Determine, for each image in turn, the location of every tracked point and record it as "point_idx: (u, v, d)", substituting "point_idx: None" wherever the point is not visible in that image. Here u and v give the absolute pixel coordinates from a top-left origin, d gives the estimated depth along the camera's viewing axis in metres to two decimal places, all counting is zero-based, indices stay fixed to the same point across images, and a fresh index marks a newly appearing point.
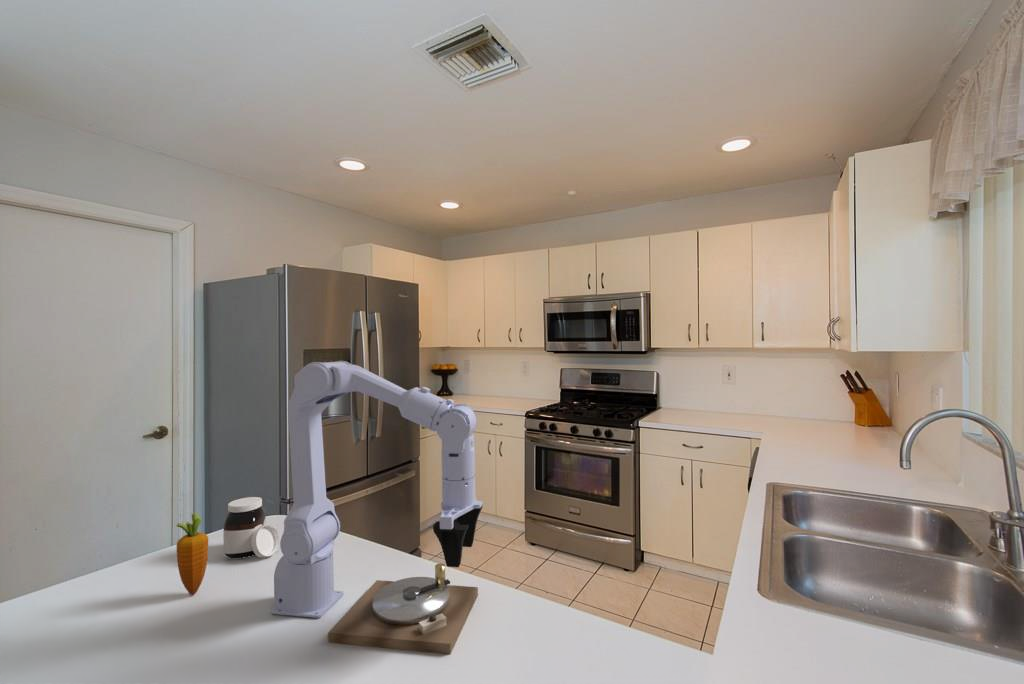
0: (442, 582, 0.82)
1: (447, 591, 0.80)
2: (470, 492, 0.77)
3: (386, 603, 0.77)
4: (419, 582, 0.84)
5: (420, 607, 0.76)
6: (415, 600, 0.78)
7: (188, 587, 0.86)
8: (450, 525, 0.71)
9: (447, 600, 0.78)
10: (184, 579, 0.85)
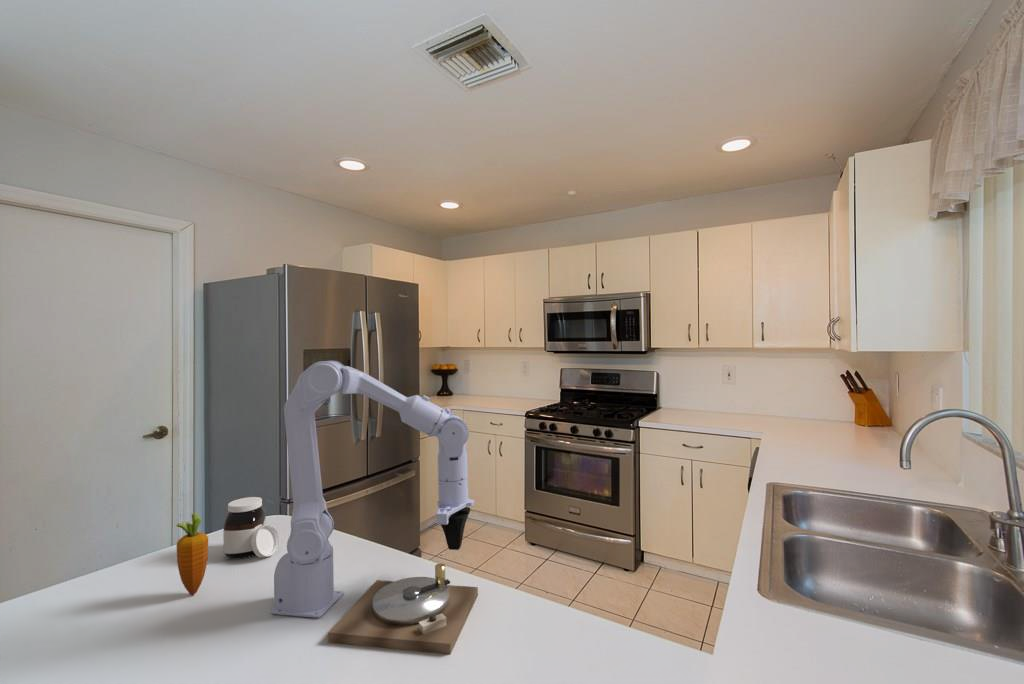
0: (442, 582, 0.82)
1: (447, 591, 0.80)
2: (463, 491, 0.87)
3: (386, 603, 0.77)
4: (419, 582, 0.84)
5: (420, 607, 0.76)
6: (415, 600, 0.78)
7: (188, 587, 0.86)
8: (445, 521, 0.81)
9: (447, 600, 0.78)
10: (184, 579, 0.85)
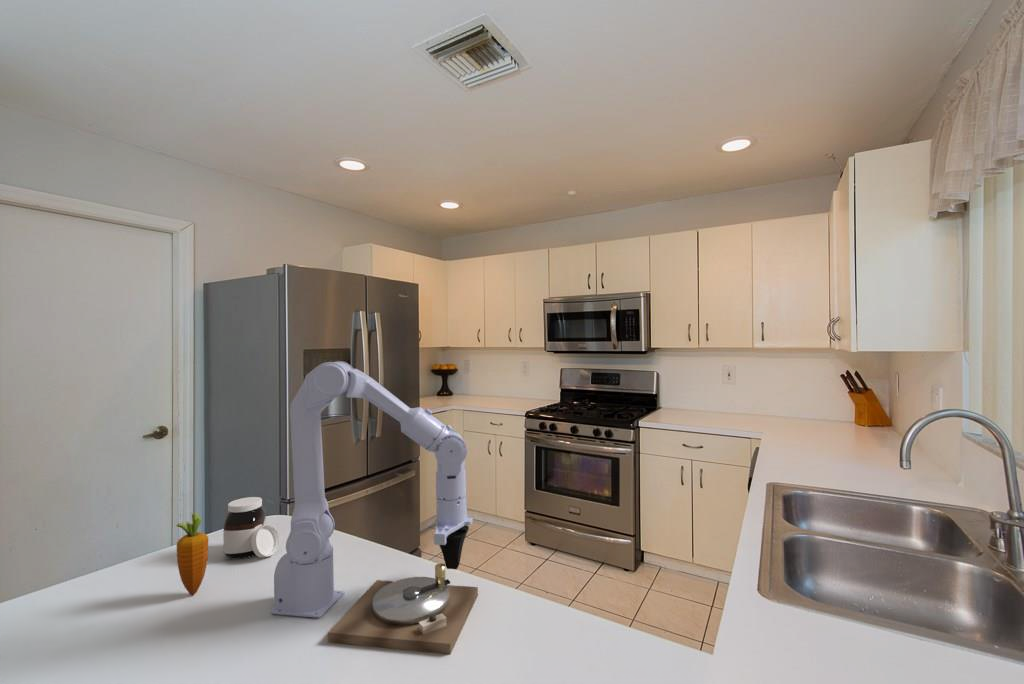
0: (442, 582, 0.82)
1: (447, 591, 0.80)
2: (462, 510, 0.86)
3: (386, 603, 0.77)
4: (419, 582, 0.84)
5: (420, 607, 0.76)
6: (415, 600, 0.78)
7: (188, 587, 0.86)
8: (443, 541, 0.80)
9: (447, 600, 0.78)
10: (184, 579, 0.85)
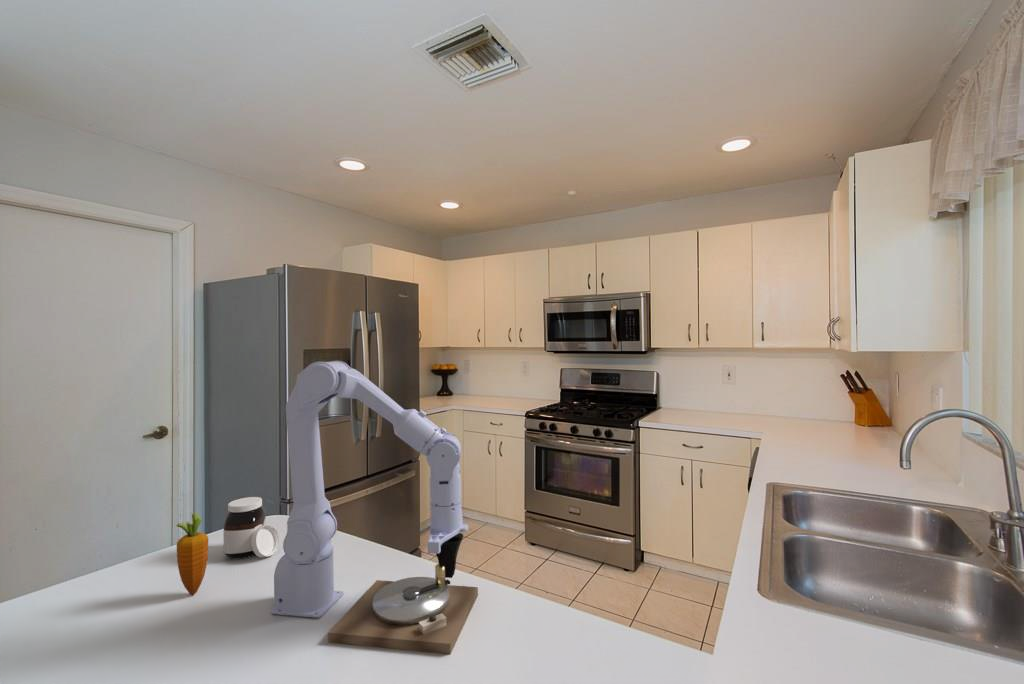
0: (442, 582, 0.82)
1: (447, 591, 0.80)
2: (457, 516, 0.82)
3: (386, 603, 0.77)
4: (419, 582, 0.84)
5: (420, 607, 0.75)
6: (415, 600, 0.78)
7: (188, 587, 0.86)
8: (437, 549, 0.77)
9: (447, 600, 0.78)
10: (184, 579, 0.85)
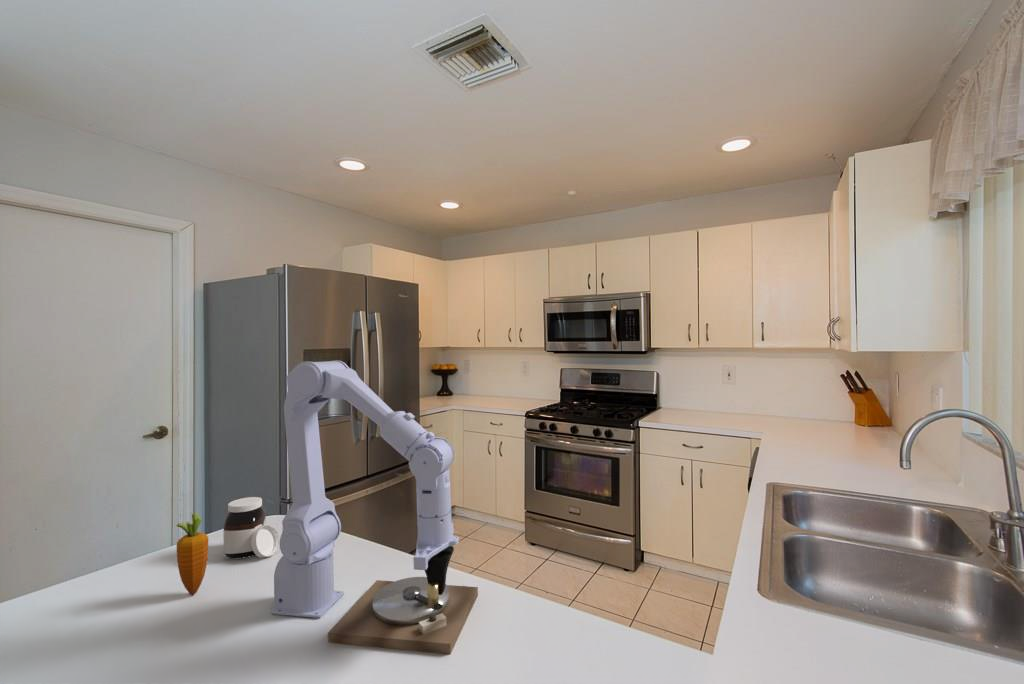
0: (429, 602, 0.75)
1: (421, 613, 0.74)
2: (446, 528, 0.76)
3: (396, 587, 0.82)
4: None
5: (389, 606, 0.76)
6: (402, 599, 0.78)
7: (188, 587, 0.86)
8: (424, 566, 0.70)
9: (407, 619, 0.73)
10: (184, 579, 0.85)
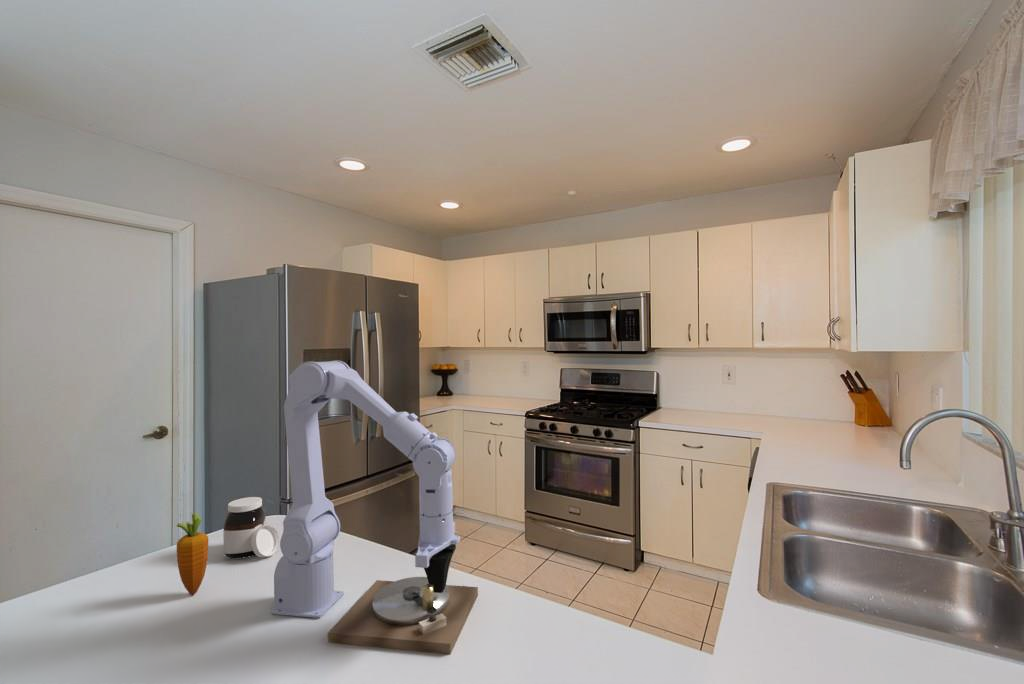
0: (423, 604, 0.75)
1: (413, 614, 0.73)
2: (447, 527, 0.77)
3: (400, 585, 0.83)
4: (436, 594, 0.79)
5: (386, 604, 0.77)
6: (401, 599, 0.78)
7: (188, 587, 0.86)
8: (425, 563, 0.72)
9: (400, 619, 0.73)
10: (184, 579, 0.85)
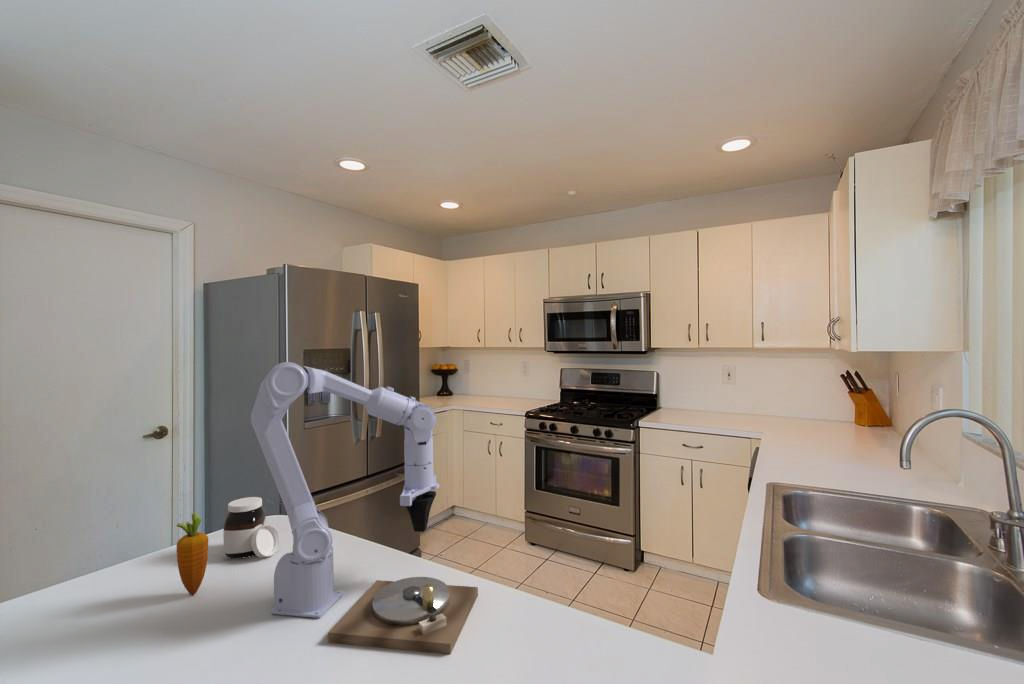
0: (423, 604, 0.75)
1: (413, 614, 0.73)
2: (428, 475, 0.90)
3: (400, 585, 0.83)
4: (436, 594, 0.79)
5: (386, 604, 0.77)
6: (401, 599, 0.78)
7: (188, 587, 0.86)
8: (408, 502, 0.85)
9: (400, 619, 0.73)
10: (184, 579, 0.85)
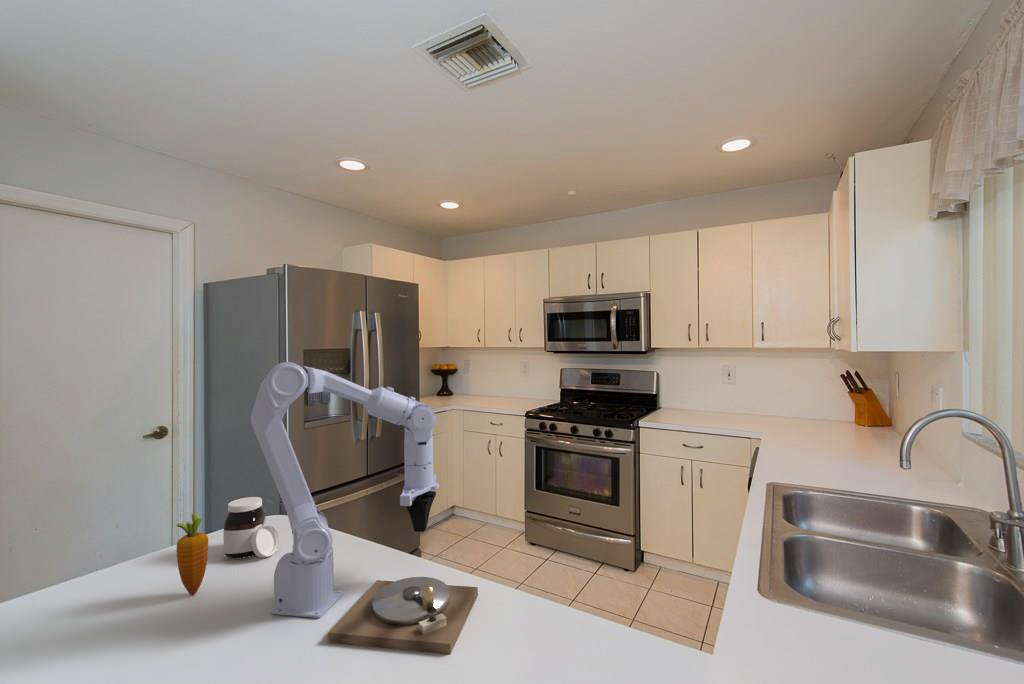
0: (423, 604, 0.75)
1: (413, 614, 0.73)
2: (428, 475, 0.90)
3: (400, 585, 0.83)
4: (436, 594, 0.79)
5: (386, 604, 0.77)
6: (401, 599, 0.78)
7: (188, 587, 0.86)
8: (408, 502, 0.85)
9: (400, 619, 0.73)
10: (184, 579, 0.85)
